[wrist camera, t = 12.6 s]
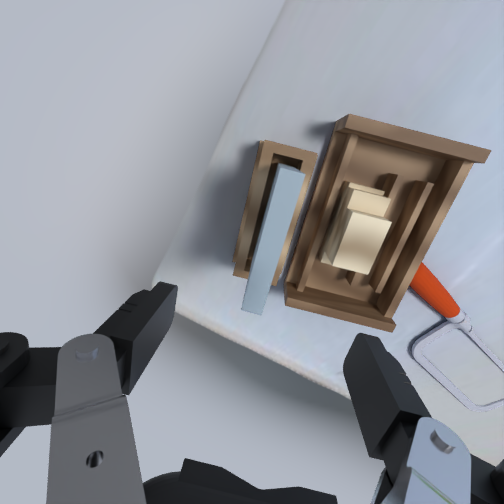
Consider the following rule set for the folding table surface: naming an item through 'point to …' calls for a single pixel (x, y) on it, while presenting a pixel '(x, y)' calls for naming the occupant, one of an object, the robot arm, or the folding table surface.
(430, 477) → the robot arm
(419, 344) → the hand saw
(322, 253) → the offcut long
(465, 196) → the folding table surface
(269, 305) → the folding table surface
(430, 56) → the folding table surface
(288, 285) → the rack
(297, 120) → the folding table surface
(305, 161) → the stand
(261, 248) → the panel
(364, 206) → the offcut mid
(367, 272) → the offcut short
